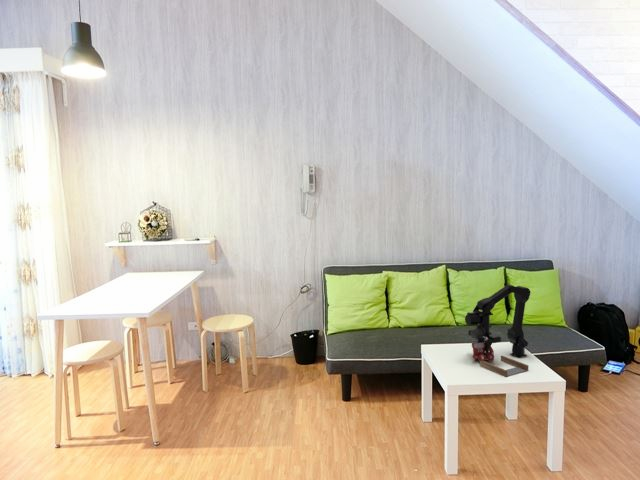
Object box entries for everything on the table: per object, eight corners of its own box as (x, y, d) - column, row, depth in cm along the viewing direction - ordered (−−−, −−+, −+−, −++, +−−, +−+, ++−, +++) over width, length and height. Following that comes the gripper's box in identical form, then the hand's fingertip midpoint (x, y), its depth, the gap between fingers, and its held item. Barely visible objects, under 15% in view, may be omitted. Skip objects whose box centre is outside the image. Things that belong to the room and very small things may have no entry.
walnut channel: (502, 360, 248) (502, 355, 248) (528, 370, 233) (528, 365, 233) (480, 366, 241) (480, 360, 241) (505, 377, 226) (505, 371, 225)
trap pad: (516, 367, 238) (516, 367, 237) (526, 371, 232) (526, 370, 232) (498, 372, 232) (498, 371, 232) (507, 376, 226) (507, 375, 226)
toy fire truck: (497, 360, 246) (495, 341, 247) (477, 362, 243) (475, 343, 244) (490, 358, 252) (488, 339, 253) (470, 360, 250) (468, 341, 251)
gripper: (460, 321, 253) (461, 348, 254) (486, 329, 236) (486, 358, 237) (475, 318, 257) (475, 345, 259) (501, 326, 241) (501, 354, 242)
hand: (484, 350), depth 249 cm, fingers closed on toy fire truck, 3 cm apart
